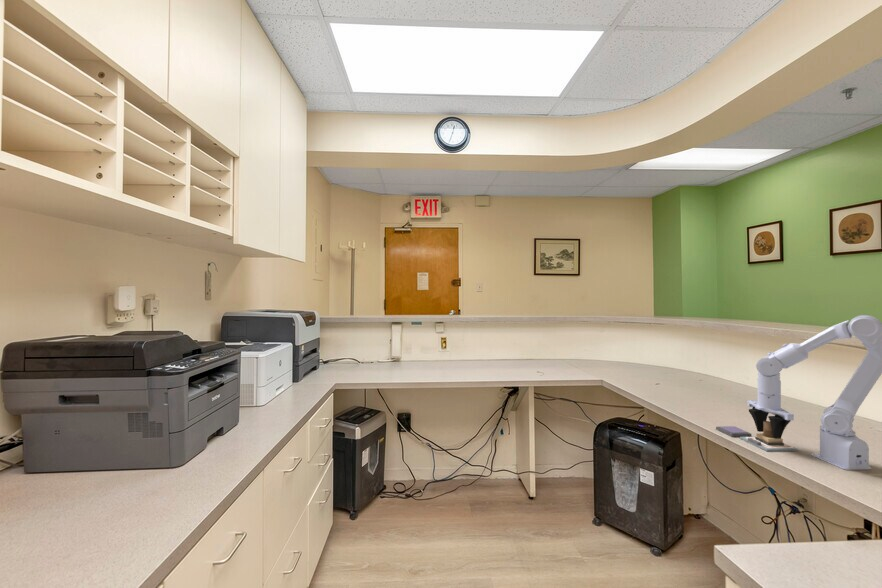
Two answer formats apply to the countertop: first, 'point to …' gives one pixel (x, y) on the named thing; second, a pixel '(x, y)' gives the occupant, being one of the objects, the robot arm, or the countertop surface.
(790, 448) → the clipboard
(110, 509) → the countertop surface
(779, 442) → the stamp
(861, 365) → the robot arm
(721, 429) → the ink pad
